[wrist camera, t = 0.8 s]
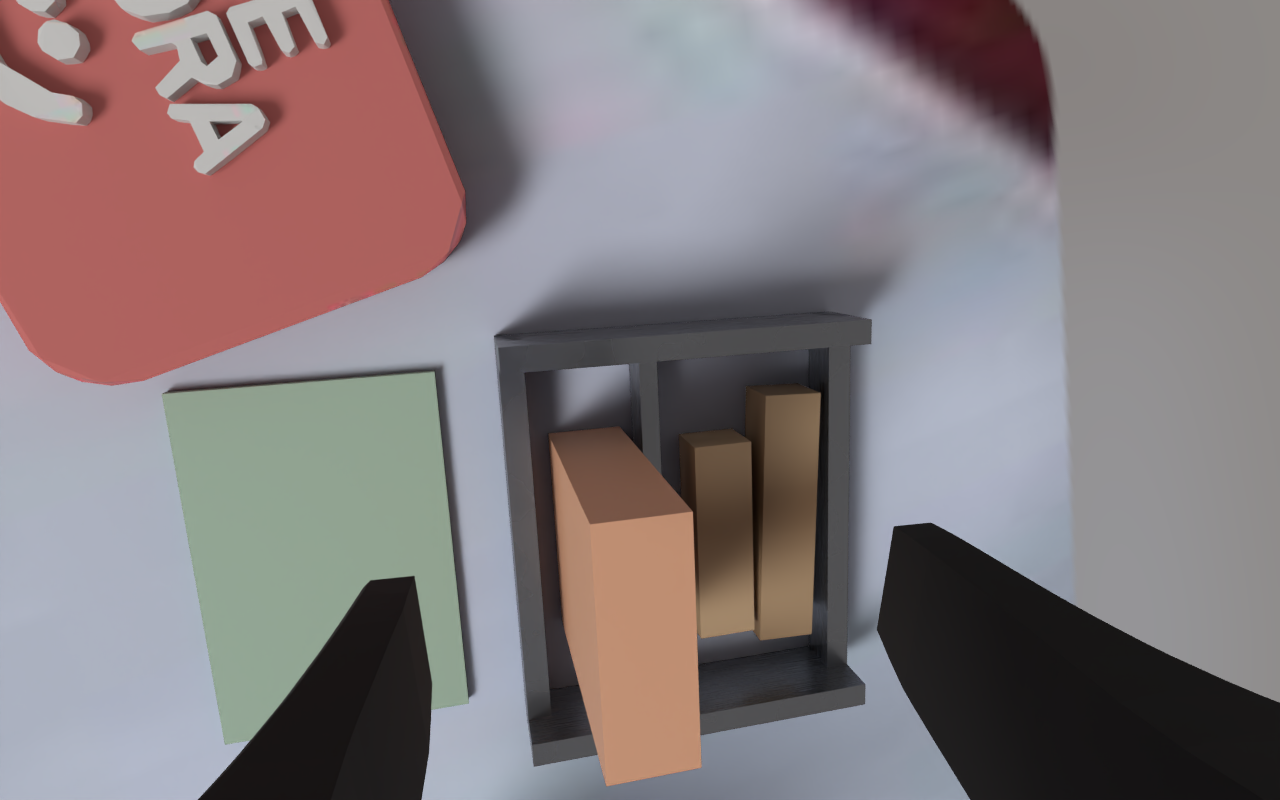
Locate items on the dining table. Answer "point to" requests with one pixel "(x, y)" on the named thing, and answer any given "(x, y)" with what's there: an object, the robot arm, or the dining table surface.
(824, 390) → the rack
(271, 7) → the red flat case
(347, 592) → the mat
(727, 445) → the offcut short
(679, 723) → the tall orange plank
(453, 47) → the dining table surface
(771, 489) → the block
